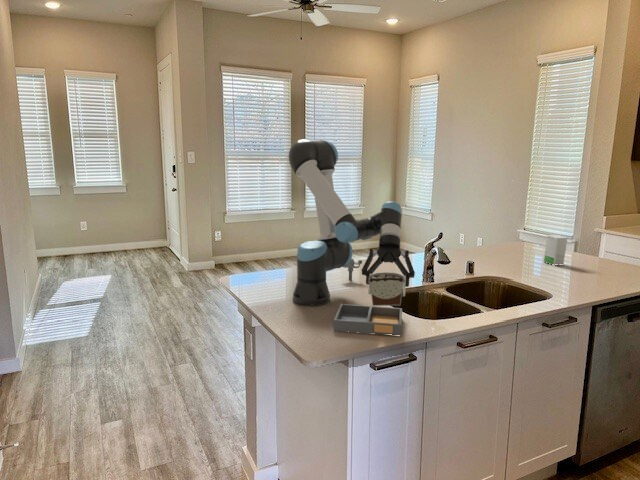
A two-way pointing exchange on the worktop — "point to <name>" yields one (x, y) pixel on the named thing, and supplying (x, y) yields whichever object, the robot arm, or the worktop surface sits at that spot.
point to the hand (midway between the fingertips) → (386, 293)
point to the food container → (386, 288)
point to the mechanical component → (351, 266)
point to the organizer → (368, 319)
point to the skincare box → (555, 249)
